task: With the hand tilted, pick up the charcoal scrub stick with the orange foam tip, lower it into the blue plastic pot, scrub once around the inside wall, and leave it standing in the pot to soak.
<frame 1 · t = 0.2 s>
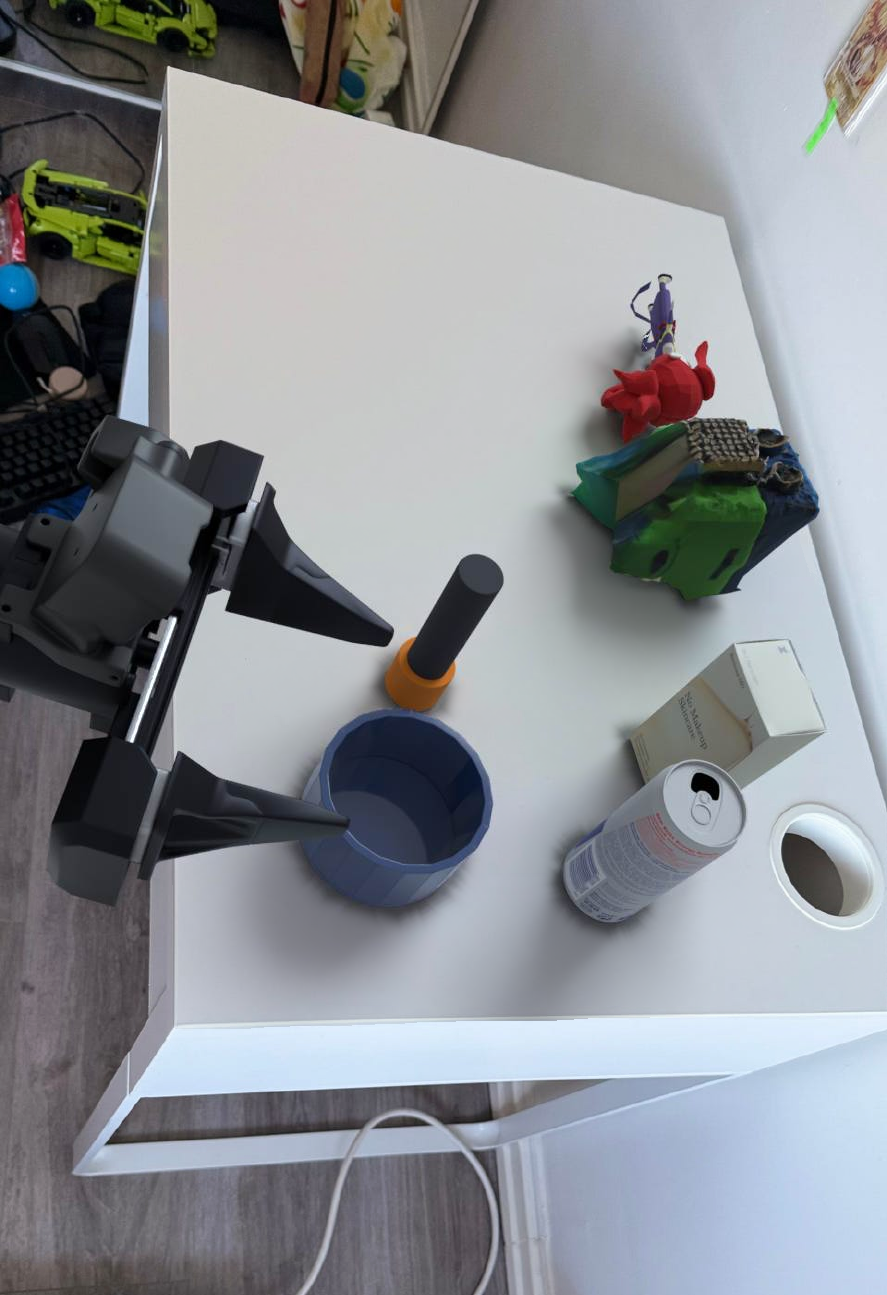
hand: (370, 728, 45), 18 cm above the table, tool horizontal, fingers open, 9 cm apart
cosmetic box: (668, 776, 72), on the table
blue plastic pot: (379, 827, 63), on the table
sculpture: (651, 543, 80), on the table
scrub stick: (412, 686, 68), on the table
energy drink: (599, 883, 66), on the table
figurine: (633, 388, 87), on the table
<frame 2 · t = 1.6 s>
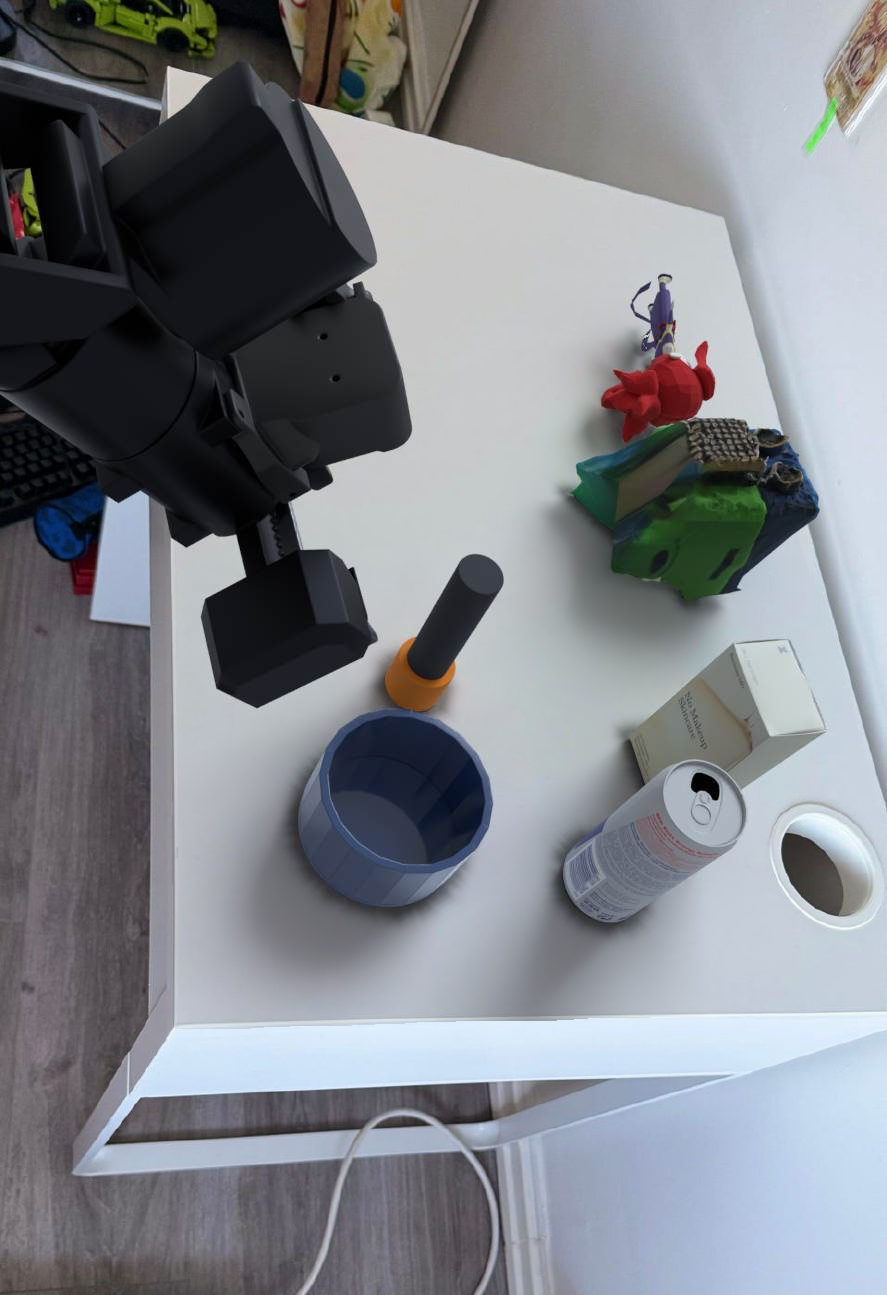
hand: (346, 560, 53), 14 cm above the table, tool tilted 45°, fingers open, 9 cm apart
nothing on the table moved.
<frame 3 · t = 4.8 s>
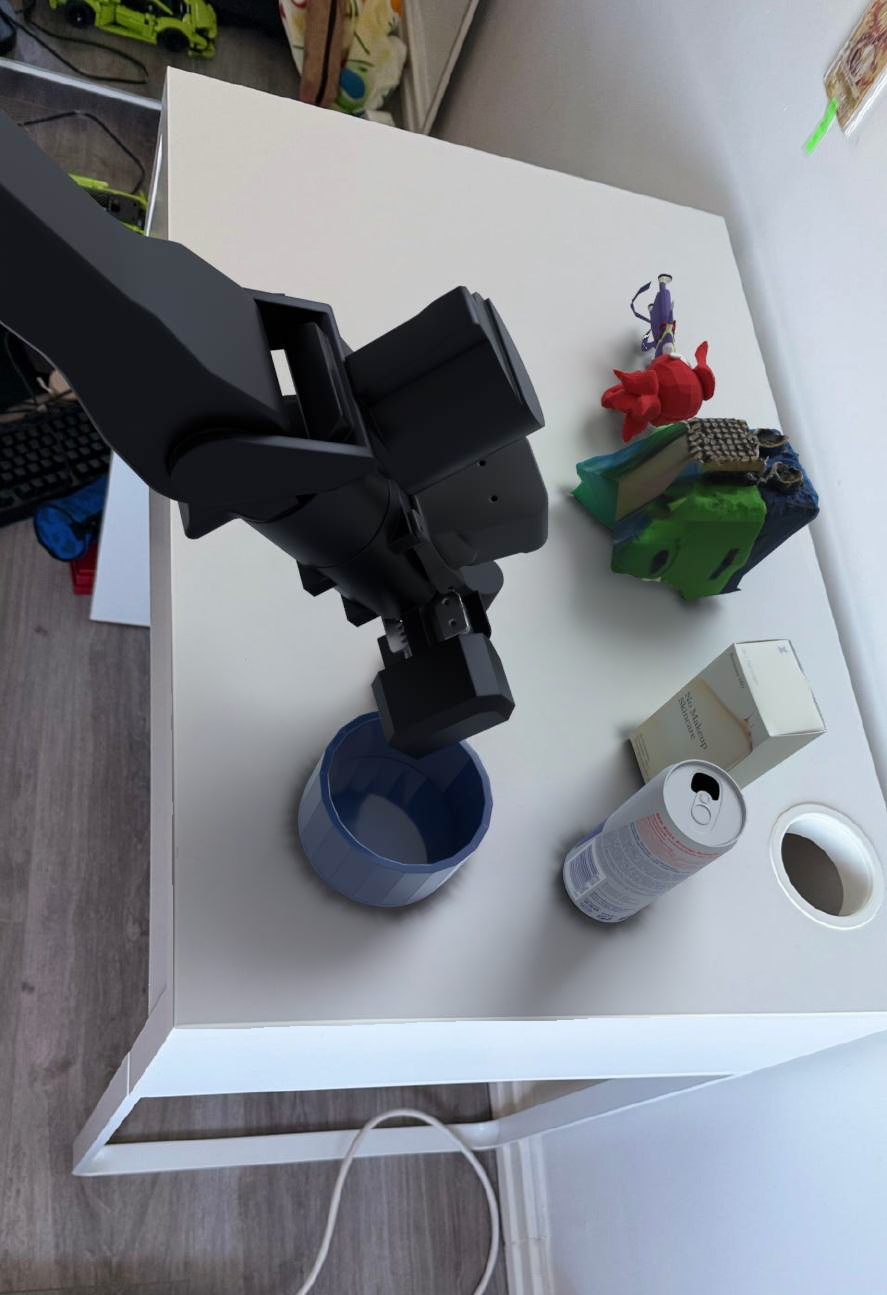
hand: (469, 628, 63), 7 cm above the table, tool tilted 45°, fingers closed on scrub stick, 2 cm apart
scrub stick: (412, 686, 68), on the table, touching gripper
everything else where it was.
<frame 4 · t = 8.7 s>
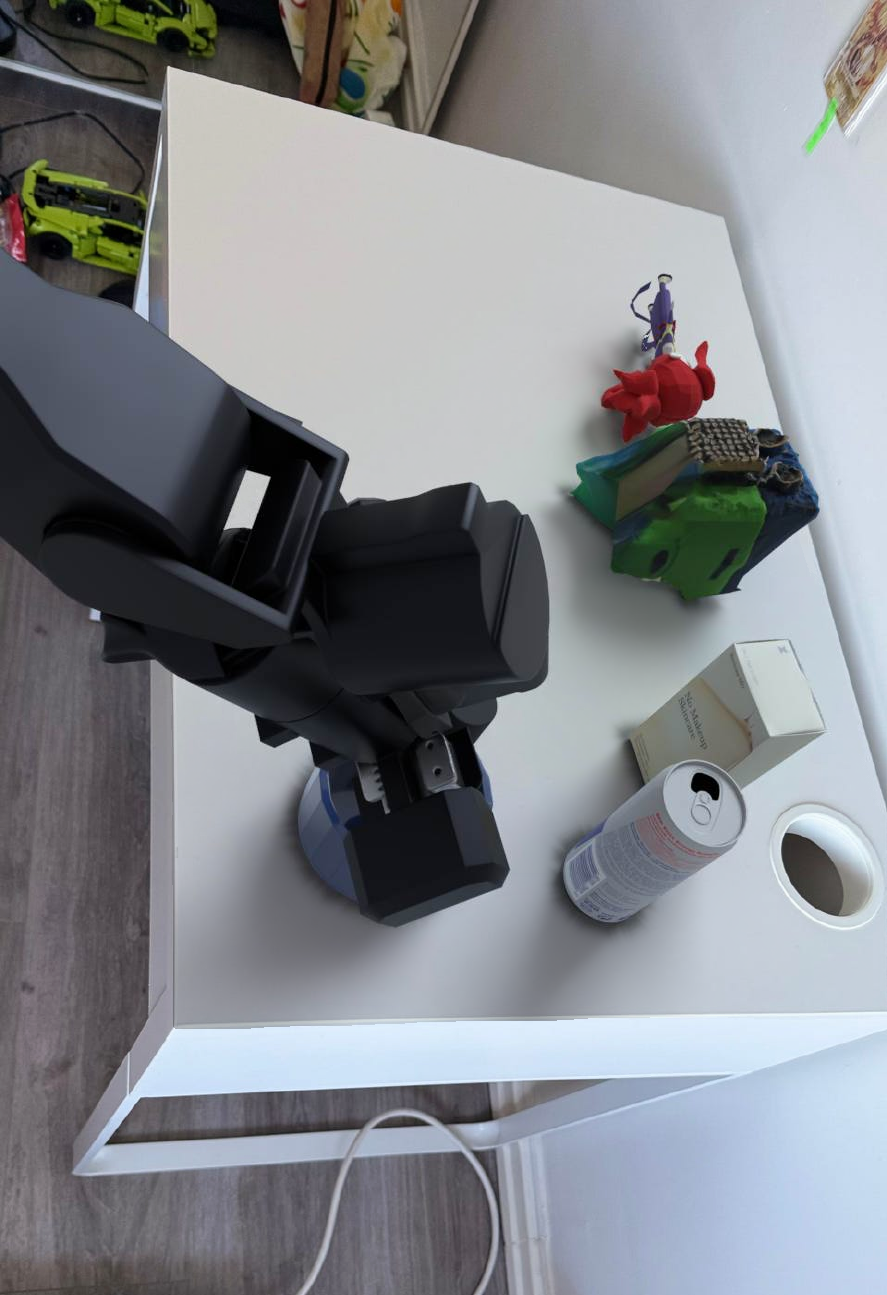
hand: (458, 750, 55), 10 cm above the table, tool tilted 45°, fingers closed on scrub stick, 2 cm apart
scrub stick: (395, 805, 60), point 3 cm above the table, touching gripper
everything else where it was.
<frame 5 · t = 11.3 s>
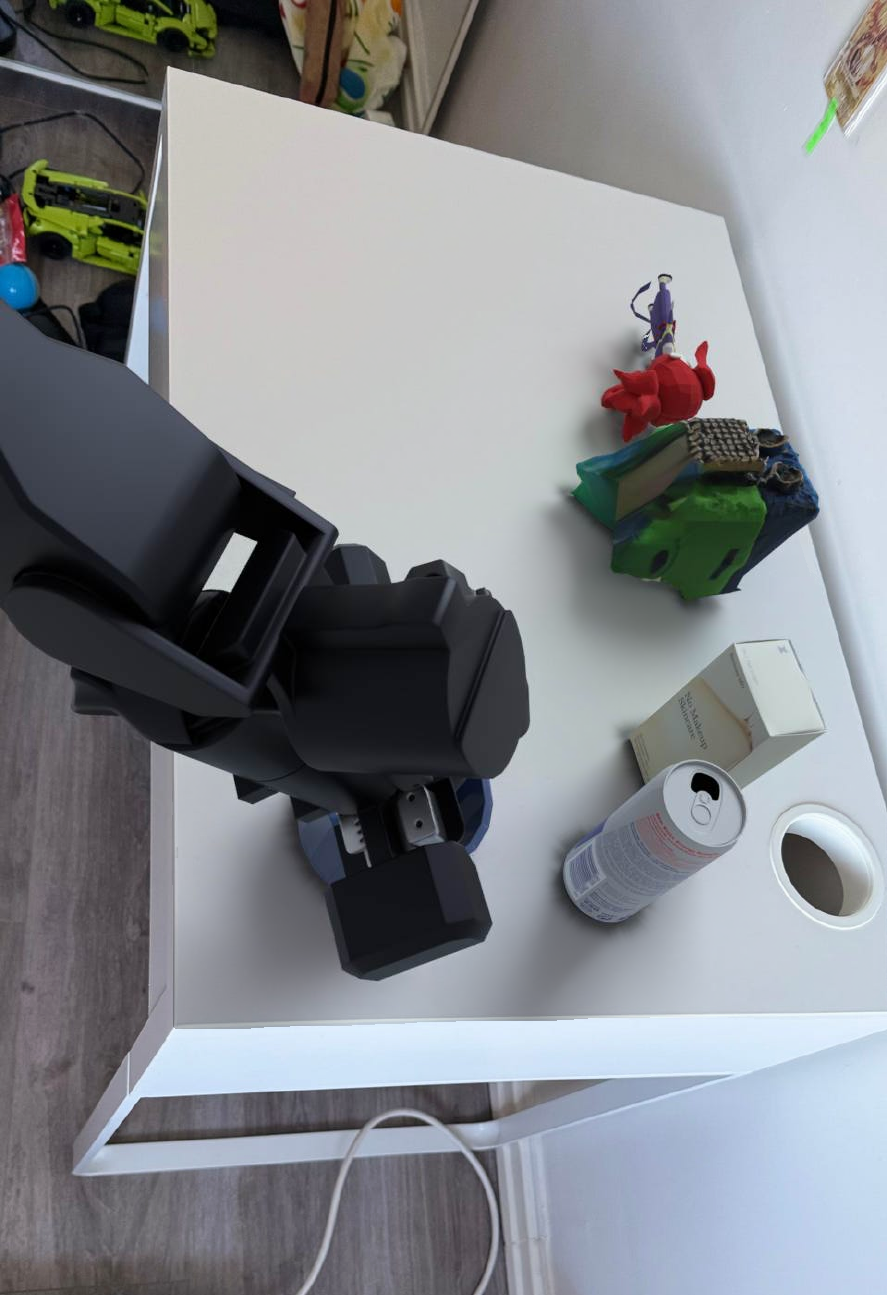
hand: (443, 793, 55), 9 cm above the table, tool tilted 45°, fingers closed on scrub stick, 2 cm apart
scrub stick: (381, 845, 60), point 2 cm above the table, touching gripper
everything else where it was.
when the fingers open (7 cm above the table, at t = 12.8 s): scrub stick stays where it is, resting on blue plastic pot.
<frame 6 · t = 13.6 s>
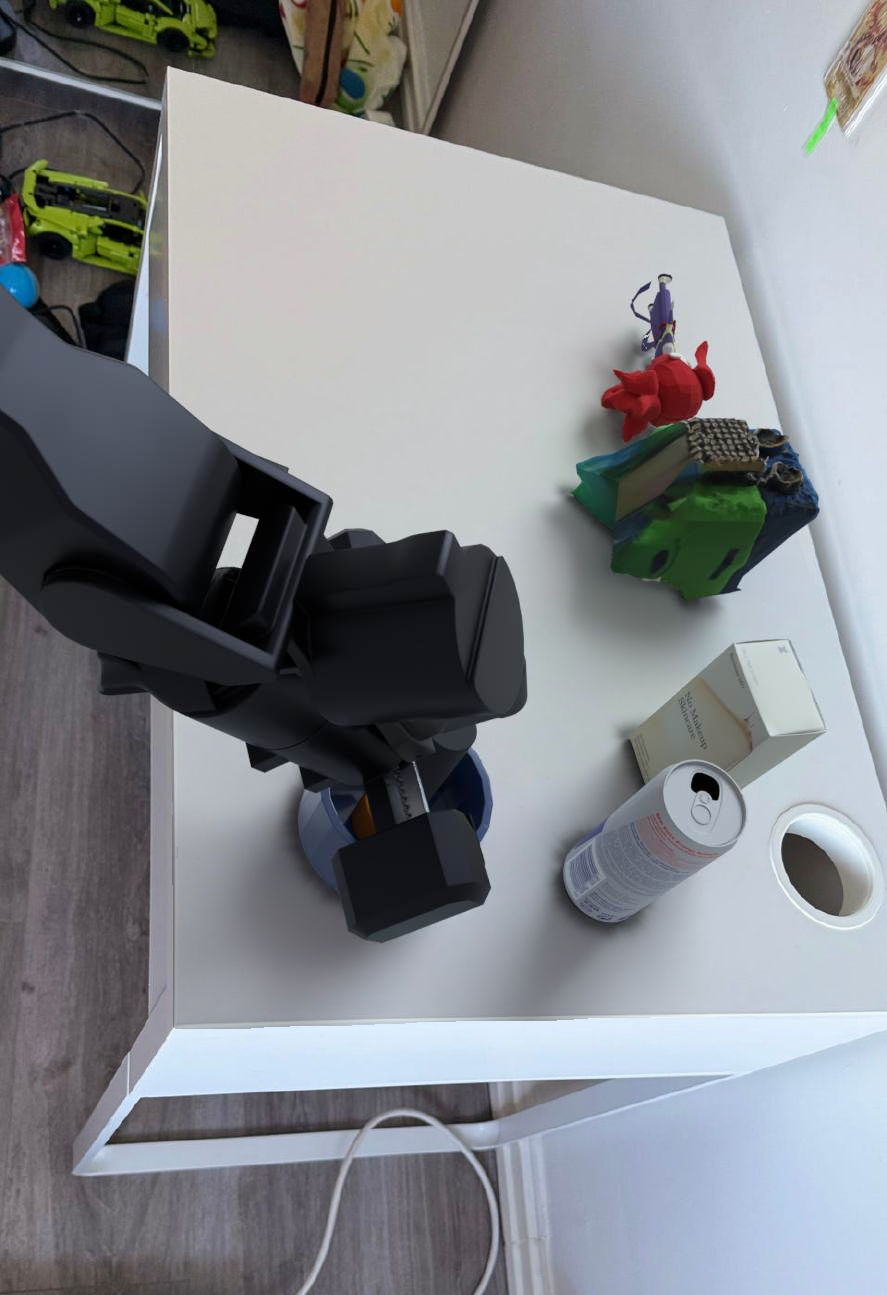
hand: (445, 769, 57), 7 cm above the table, tool tilted 45°, fingers open, 9 cm apart
scrub stick: (382, 823, 62), resting on blue plastic pot
everything else where it was.
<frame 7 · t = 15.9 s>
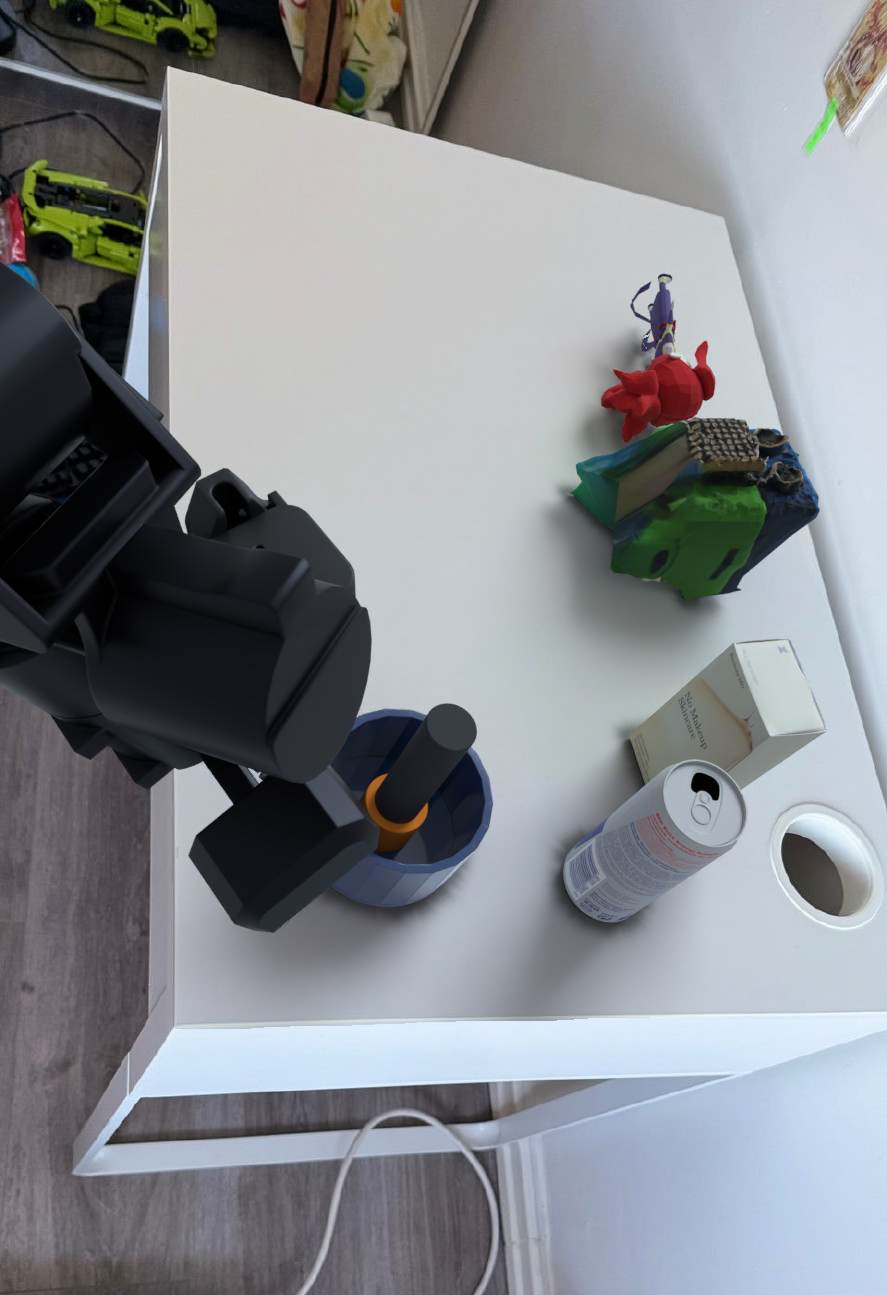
hand: (268, 764, 51), 10 cm above the table, tool tilted 35°, fingers open, 9 cm apart
nothing on the table moved.
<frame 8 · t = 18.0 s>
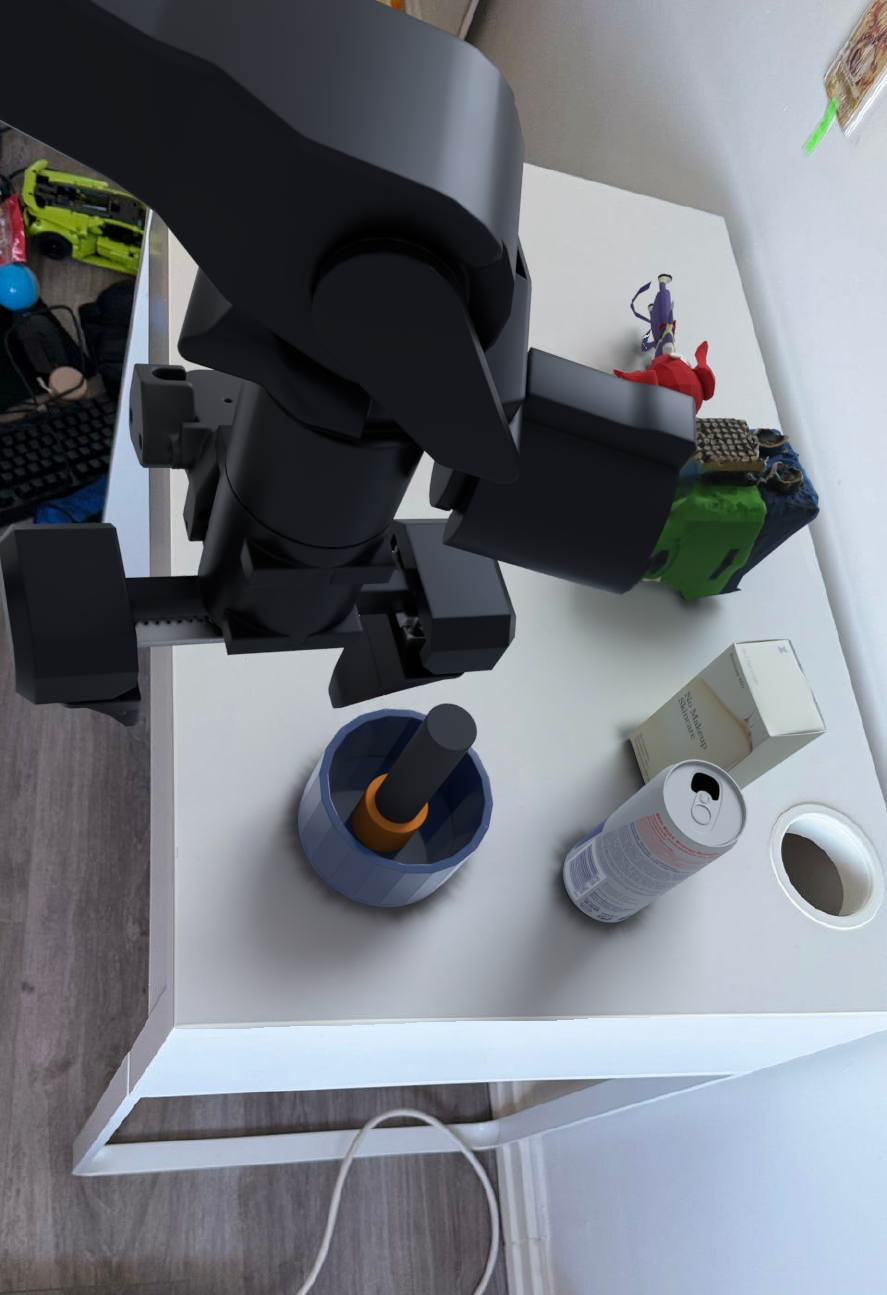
hand: (234, 707, 48), 13 cm above the table, tool pointing down, fingers open, 9 cm apart
nothing on the table moved.
at the end: scrub stick 0.1 cm off-centre in the blue plastic pot, point 0.5 cm above the blue plastic pot's base; the gripper is holding nothing; figurine moved 0.2 cm from its start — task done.
